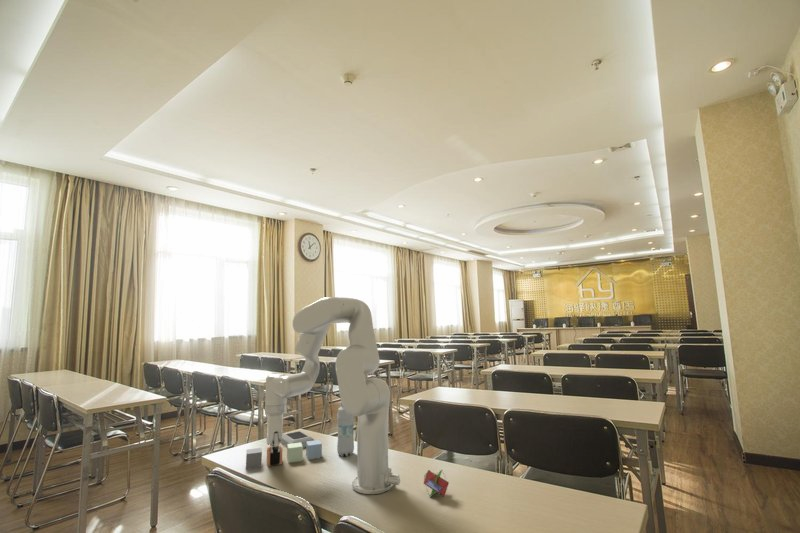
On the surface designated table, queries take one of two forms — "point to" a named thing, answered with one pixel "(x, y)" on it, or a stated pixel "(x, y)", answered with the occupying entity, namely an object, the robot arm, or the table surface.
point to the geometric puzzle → (435, 482)
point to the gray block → (253, 458)
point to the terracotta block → (270, 452)
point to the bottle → (345, 432)
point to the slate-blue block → (313, 449)
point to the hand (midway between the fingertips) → (274, 461)
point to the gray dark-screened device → (296, 438)
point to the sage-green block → (294, 452)
